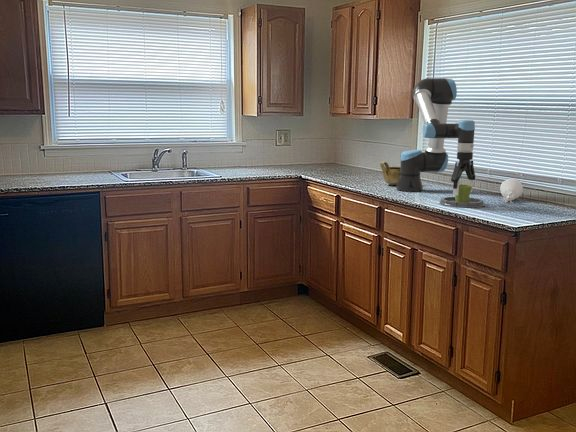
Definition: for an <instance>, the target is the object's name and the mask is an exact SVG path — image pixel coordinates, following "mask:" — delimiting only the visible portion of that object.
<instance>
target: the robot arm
mask: <svg viewBox="0 0 576 432" xmlns="http://www.w3.org/2000/svg"><path fill="white" fill-rule="evenodd" d="M457 89H458V88H457V85H456V82H455V80H454V79H452V78H445V77H444V78H441V77H440V78H438V77H437V78H435V77H434V78H429V77H427V78H424V79H421V80H419V81H418V82H417V83H416V84H415V86H414V87H413V89H412V98H413V101H414V102H415V103H416V105H417V107H418V109H419V112H420V115H421V118H422V120H423V121H422V122H423V123H424V124H423V125H422V136H423V138H425V139H428V145H427V146H426V147H425V149H424V152H422V150H421V149H410V150H405V151H402V153H401V154H400V160H399V161H400V166H399V167H400V178H399V181H398V184H397V186H396V191H399V190H401V191H400V192H409V191H415V192H416V191H417V192H423V187H424V186H423V182H422V179H421V173H442V172H444V171H445V170H446V169H447V167H448V164H449V154H448V152H446V149H445V147H444V145H445V139H457V153H456V160H458V161H455V163H454V169H453V172H452V176H451V178H450V181H451V183H453V185H452V196H455V195H458V194H459V185H460V182H459V181H460V179H461V177H462V175H463V172H465V174H466V176H467V180H466V185H471V186H473V181H475V180H476V172H475V168H474V160H473V158H474V157H473V155H474V152H473V151H474V142H475V141H474V139H475V129H476V125H475V124H476V122H475V120H472V119H471V120H468V119H465V120H464V119H463V120H459V122H456V123H447V120H448V112H449V107H450V106H451V105H452V103H453V101H455V100H456V98H457V96H458V95H457V94H458V93H457V92H458V91H457ZM415 192H414V193H415ZM471 193H473V187H472V188H471V191H470V194H471Z"/></svg>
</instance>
